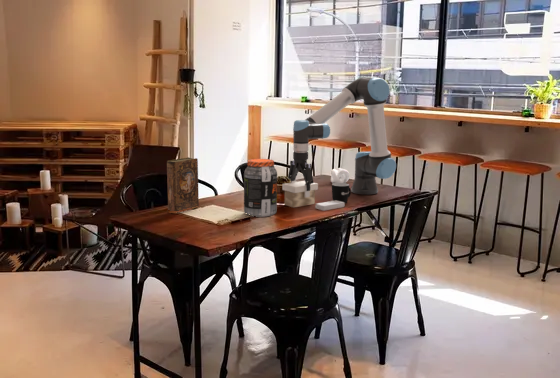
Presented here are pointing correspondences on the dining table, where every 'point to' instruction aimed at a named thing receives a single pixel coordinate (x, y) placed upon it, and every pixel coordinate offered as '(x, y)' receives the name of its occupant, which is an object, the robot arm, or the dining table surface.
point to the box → (299, 199)
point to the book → (182, 183)
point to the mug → (340, 192)
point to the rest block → (329, 205)
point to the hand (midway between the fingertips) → (300, 195)
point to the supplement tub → (260, 188)
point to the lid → (298, 186)
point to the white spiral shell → (339, 175)
